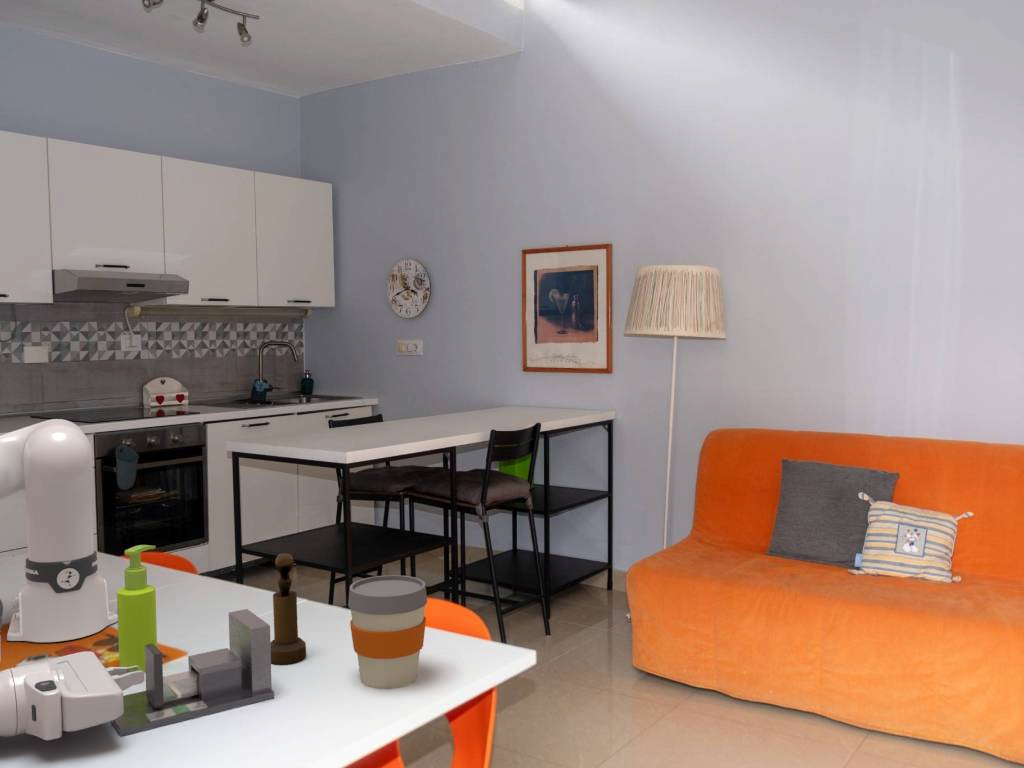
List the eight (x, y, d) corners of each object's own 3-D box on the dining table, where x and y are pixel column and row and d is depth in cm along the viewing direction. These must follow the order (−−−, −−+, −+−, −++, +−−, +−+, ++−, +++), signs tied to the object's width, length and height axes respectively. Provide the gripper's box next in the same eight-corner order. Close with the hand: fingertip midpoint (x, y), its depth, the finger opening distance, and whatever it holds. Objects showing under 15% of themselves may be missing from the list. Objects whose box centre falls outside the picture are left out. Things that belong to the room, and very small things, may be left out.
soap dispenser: (169, 660, 156) (165, 544, 155) (140, 675, 150) (136, 553, 148) (141, 656, 158) (137, 541, 157) (111, 671, 152) (107, 551, 150)
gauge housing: (101, 707, 137) (99, 634, 137) (246, 673, 150) (245, 607, 149) (120, 736, 128) (118, 658, 127) (274, 698, 140) (272, 627, 140)
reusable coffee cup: (394, 699, 140) (393, 601, 139) (332, 682, 146) (331, 589, 145) (443, 672, 150) (442, 581, 149) (384, 657, 157) (382, 571, 156)
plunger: (146, 697, 138) (144, 644, 137) (221, 680, 144) (219, 630, 144) (161, 716, 131) (159, 661, 130) (238, 697, 138) (237, 644, 137)
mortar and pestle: (270, 651, 160) (268, 549, 159) (308, 650, 161) (306, 548, 160) (263, 665, 154) (261, 559, 152) (303, 664, 154) (301, 558, 153)
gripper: (25, 694, 135) (125, 673, 143) (50, 746, 119) (161, 718, 127) (23, 652, 135) (123, 633, 143) (48, 698, 118) (160, 673, 126)
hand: (141, 673), depth 135 cm, fingers closed
